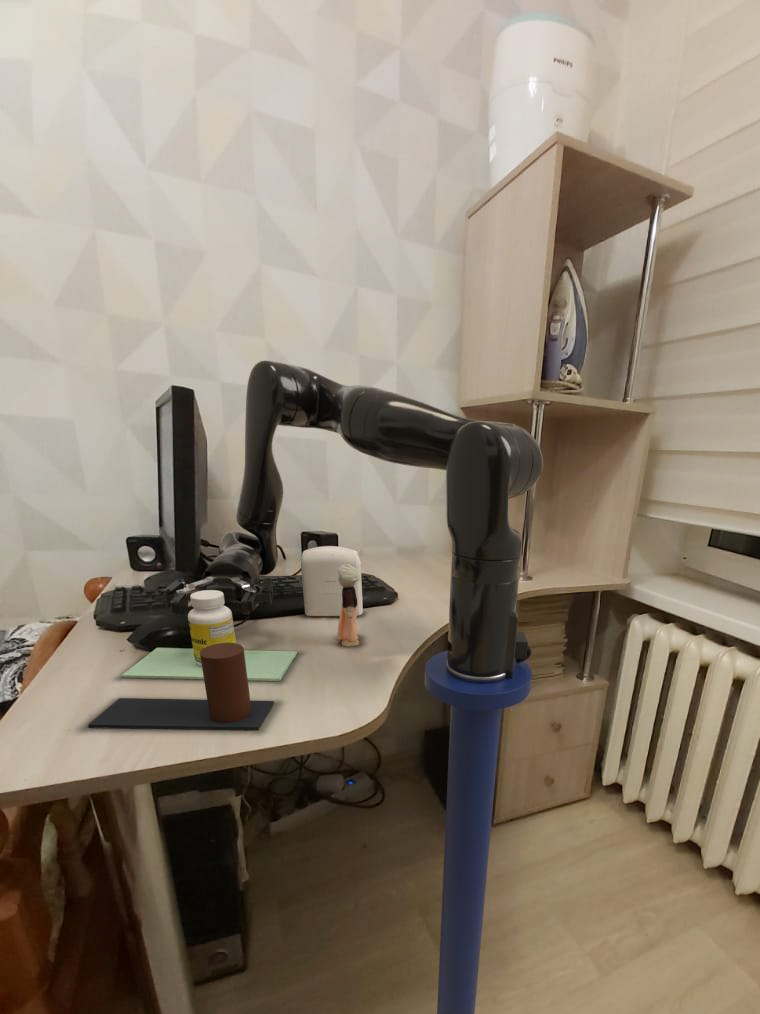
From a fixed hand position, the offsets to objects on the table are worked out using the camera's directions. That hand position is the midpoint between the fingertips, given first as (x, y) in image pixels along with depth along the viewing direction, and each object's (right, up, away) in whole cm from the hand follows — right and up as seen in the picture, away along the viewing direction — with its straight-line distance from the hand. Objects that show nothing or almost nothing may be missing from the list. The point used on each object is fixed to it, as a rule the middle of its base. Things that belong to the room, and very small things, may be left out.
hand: (211, 608), depth 71 cm
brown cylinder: (+8, -13, -11) cm, 19 cm away
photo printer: (+10, 0, +23) cm, 25 cm away
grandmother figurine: (+16, -5, +11) cm, 20 cm away
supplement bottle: (0, -7, +1) cm, 8 cm away
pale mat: (0, -8, +1) cm, 8 cm away
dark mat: (+3, -13, -11) cm, 18 cm away
